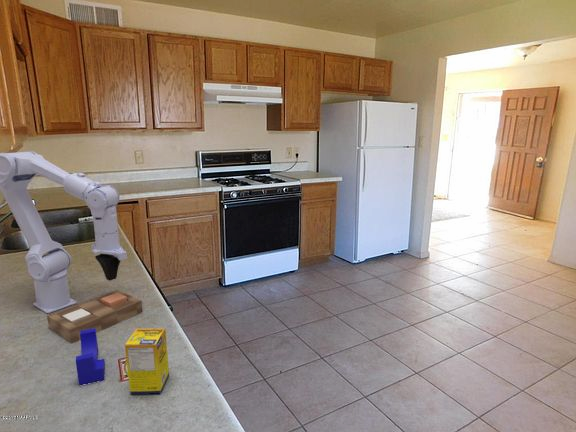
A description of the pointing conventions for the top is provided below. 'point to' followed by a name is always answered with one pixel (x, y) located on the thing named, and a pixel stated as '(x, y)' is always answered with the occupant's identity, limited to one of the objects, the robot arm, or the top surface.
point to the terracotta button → (113, 299)
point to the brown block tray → (94, 316)
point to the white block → (76, 315)
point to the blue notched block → (89, 359)
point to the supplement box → (147, 361)
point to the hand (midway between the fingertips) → (111, 279)
